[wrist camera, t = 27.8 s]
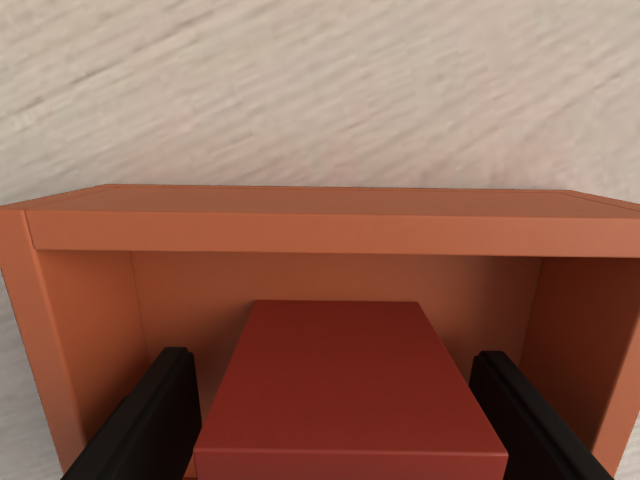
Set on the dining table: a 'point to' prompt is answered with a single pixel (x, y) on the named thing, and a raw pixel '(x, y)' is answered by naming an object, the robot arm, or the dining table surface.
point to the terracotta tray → (324, 286)
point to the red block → (344, 400)
